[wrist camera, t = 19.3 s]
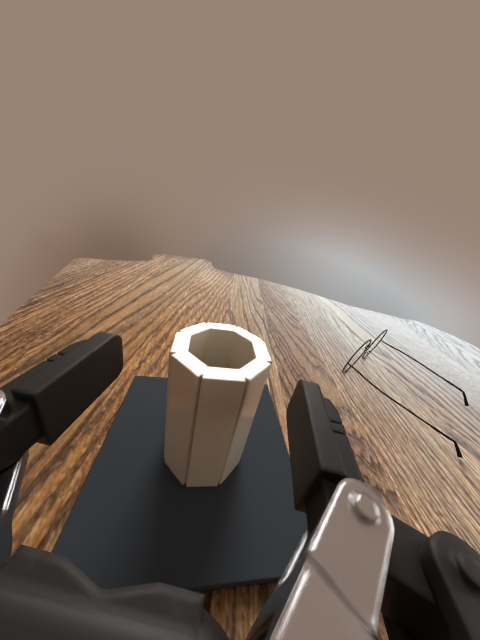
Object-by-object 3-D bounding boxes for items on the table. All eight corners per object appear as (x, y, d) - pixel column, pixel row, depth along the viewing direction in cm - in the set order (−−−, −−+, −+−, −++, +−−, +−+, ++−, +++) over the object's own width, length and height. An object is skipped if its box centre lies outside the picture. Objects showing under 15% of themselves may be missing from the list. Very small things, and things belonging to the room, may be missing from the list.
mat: (28, 612, 8) (24, 607, 7) (135, 380, 18) (135, 375, 18) (320, 576, 10) (324, 572, 10) (265, 388, 21) (267, 384, 20)
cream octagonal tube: (157, 488, 11) (161, 375, 8) (173, 412, 16) (180, 318, 12) (243, 486, 12) (281, 384, 9) (236, 415, 16) (259, 327, 13)
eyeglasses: (468, 403, 25) (499, 370, 23) (459, 467, 17) (506, 426, 15) (371, 352, 32) (387, 323, 30) (333, 379, 24) (351, 343, 22)
